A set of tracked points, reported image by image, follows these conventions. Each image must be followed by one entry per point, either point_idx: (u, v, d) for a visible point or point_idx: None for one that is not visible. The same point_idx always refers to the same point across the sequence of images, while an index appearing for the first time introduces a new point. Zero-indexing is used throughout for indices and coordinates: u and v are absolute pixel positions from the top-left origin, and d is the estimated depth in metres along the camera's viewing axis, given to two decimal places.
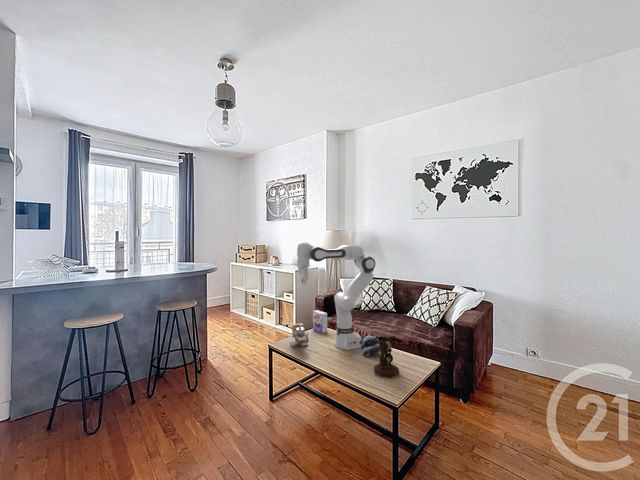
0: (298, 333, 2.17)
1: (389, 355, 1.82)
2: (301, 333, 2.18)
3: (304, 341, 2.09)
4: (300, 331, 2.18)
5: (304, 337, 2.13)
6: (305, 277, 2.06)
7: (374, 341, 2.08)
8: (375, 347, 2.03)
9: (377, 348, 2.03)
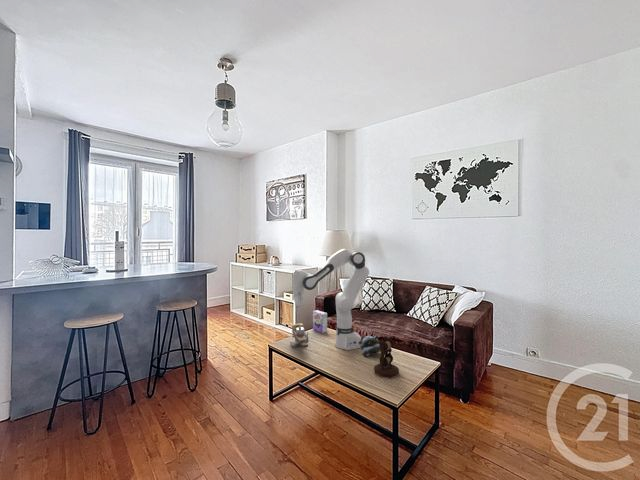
0: (298, 333, 2.17)
1: (389, 355, 1.82)
2: (301, 333, 2.18)
3: (304, 341, 2.09)
4: (300, 331, 2.18)
5: (304, 337, 2.13)
6: (300, 304, 2.17)
7: (374, 341, 2.08)
8: (375, 347, 2.03)
9: (377, 348, 2.03)
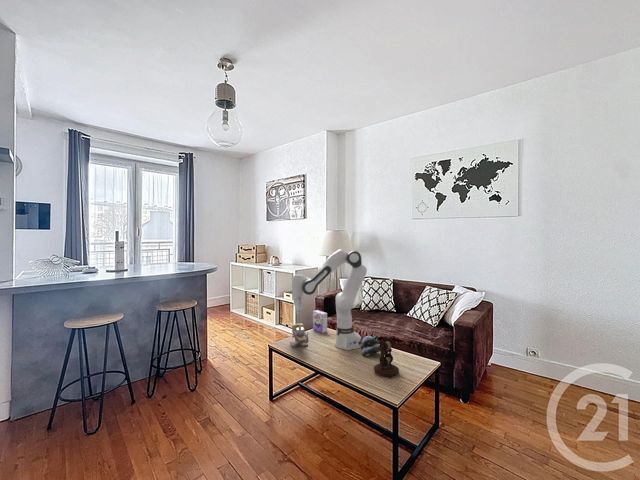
0: (298, 333, 2.17)
1: (389, 355, 1.82)
2: (301, 333, 2.18)
3: (304, 341, 2.09)
4: (300, 331, 2.18)
5: (304, 337, 2.13)
6: (299, 309, 2.17)
7: (373, 341, 2.07)
8: (374, 347, 2.02)
9: (376, 348, 2.02)
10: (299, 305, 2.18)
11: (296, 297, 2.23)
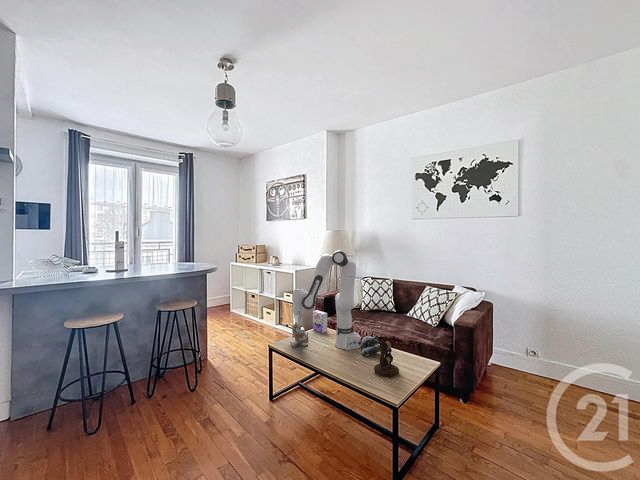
0: (298, 333, 2.17)
1: (389, 355, 1.82)
2: (301, 333, 2.18)
3: (304, 341, 2.09)
4: (300, 331, 2.18)
5: (304, 337, 2.13)
6: (299, 323, 2.18)
7: (373, 341, 2.07)
8: (374, 347, 2.02)
9: (376, 348, 2.02)
10: (299, 320, 2.18)
11: (296, 311, 2.23)
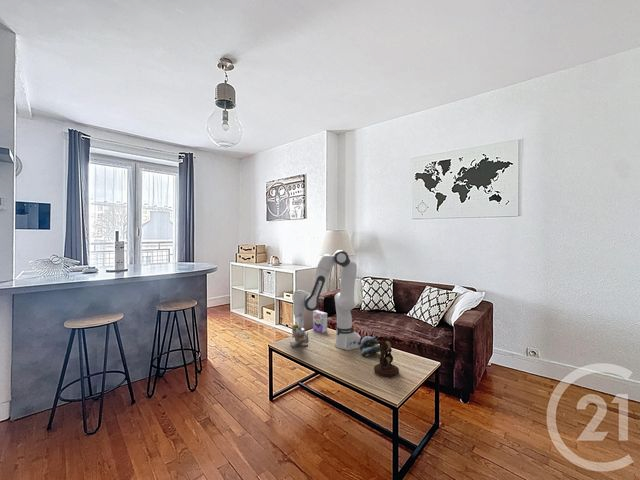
0: (298, 333, 2.16)
1: (389, 355, 1.82)
2: (301, 333, 2.17)
3: (304, 341, 2.09)
4: (300, 331, 2.17)
5: (304, 337, 2.13)
6: (301, 326, 2.13)
7: (373, 341, 2.07)
8: (374, 348, 2.02)
9: (376, 348, 2.02)
10: (300, 322, 2.13)
11: (297, 313, 2.19)
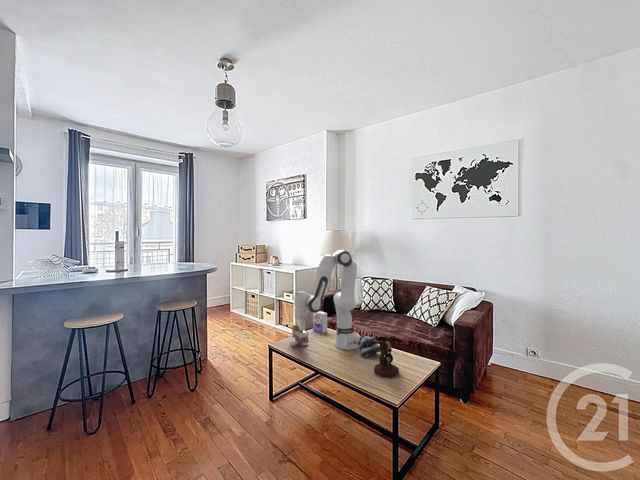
0: (300, 336, 2.10)
1: (389, 355, 1.82)
2: (303, 336, 2.11)
3: (304, 341, 2.09)
4: (302, 334, 2.10)
5: None
6: (302, 328, 2.07)
7: (372, 342, 2.07)
8: (374, 348, 2.02)
9: (376, 349, 2.02)
10: (302, 324, 2.07)
11: (298, 316, 2.12)
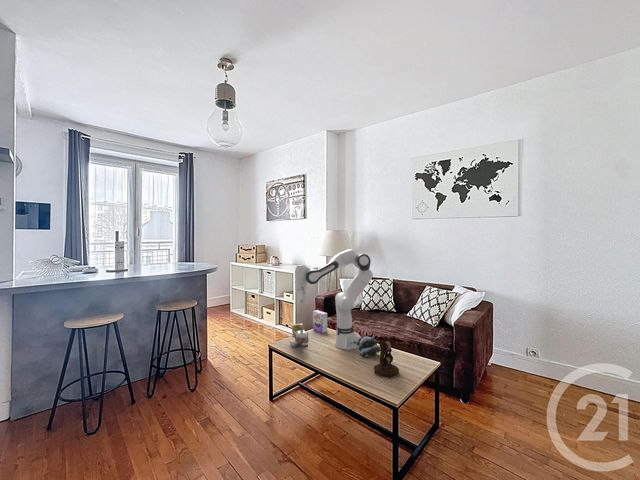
0: (300, 336, 2.10)
1: (389, 355, 1.82)
2: (303, 336, 2.11)
3: (304, 341, 2.09)
4: (302, 334, 2.10)
5: None
6: (303, 298, 2.17)
7: (372, 342, 2.06)
8: (373, 348, 2.01)
9: (375, 349, 2.01)
10: (303, 295, 2.17)
11: (299, 287, 2.22)
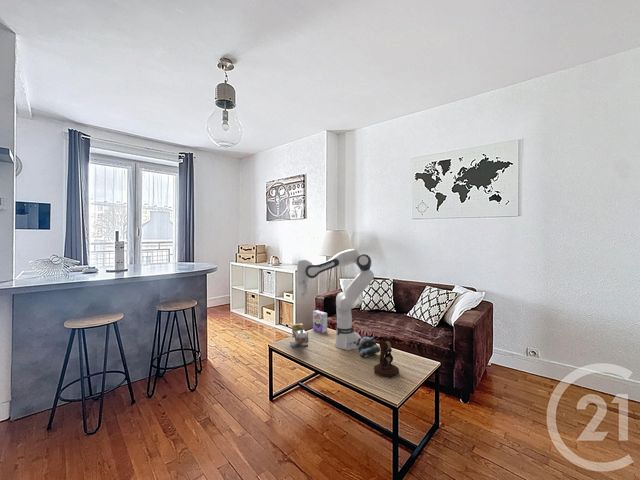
0: (300, 336, 2.10)
1: (389, 355, 1.82)
2: (303, 336, 2.11)
3: (304, 341, 2.09)
4: (302, 334, 2.10)
5: None
6: (304, 292, 2.24)
7: (371, 342, 2.06)
8: (373, 348, 2.01)
9: (375, 349, 2.01)
10: (304, 288, 2.24)
11: (301, 281, 2.30)
